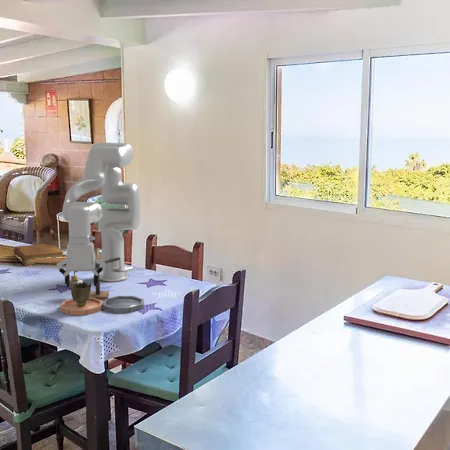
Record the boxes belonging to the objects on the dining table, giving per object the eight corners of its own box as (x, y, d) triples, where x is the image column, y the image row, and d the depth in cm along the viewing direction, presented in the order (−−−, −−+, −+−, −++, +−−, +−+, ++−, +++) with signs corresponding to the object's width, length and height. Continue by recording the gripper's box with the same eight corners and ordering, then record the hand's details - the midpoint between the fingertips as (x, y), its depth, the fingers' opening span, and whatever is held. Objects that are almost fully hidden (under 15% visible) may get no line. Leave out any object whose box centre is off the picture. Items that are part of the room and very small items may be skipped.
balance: (128, 293, 215) (127, 254, 213) (127, 299, 208) (127, 259, 205) (68, 294, 212) (67, 255, 209) (65, 301, 204) (64, 260, 201)
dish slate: (126, 297, 209) (126, 293, 209) (151, 306, 200) (151, 301, 200) (95, 306, 199) (95, 301, 198) (119, 315, 189) (119, 310, 189)
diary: (14, 257, 274) (13, 246, 273) (51, 253, 284) (50, 243, 283) (24, 267, 254) (23, 255, 254) (63, 262, 264) (63, 251, 264)
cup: (95, 305, 197) (95, 284, 195) (78, 310, 191) (78, 288, 190) (83, 301, 201) (83, 280, 200) (66, 305, 196) (66, 284, 194)
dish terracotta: (87, 299, 206) (87, 295, 206) (110, 308, 197) (110, 303, 197) (53, 308, 196) (53, 303, 195) (76, 317, 186) (75, 313, 186)
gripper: (105, 237, 197) (106, 281, 200) (56, 238, 194) (59, 283, 198) (104, 241, 190) (105, 288, 193) (53, 242, 187) (55, 289, 190)
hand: (81, 285), depth 195 cm, fingers open, 9 cm apart
